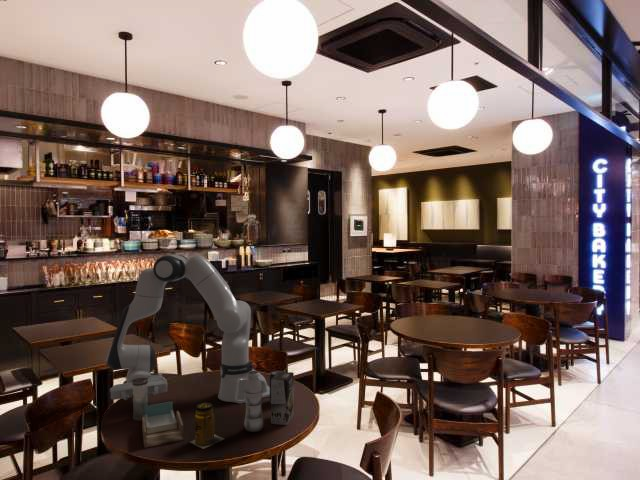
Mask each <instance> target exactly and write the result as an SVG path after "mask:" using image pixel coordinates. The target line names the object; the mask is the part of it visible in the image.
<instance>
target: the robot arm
mask: <svg viewBox="0 0 640 480" xmlns="http://www.w3.org/2000/svg"><path fill="white" fill-rule="evenodd" d="M185 278H186V279H188V280H189V281H190V282H191V283H192V285H193V286H194V287H195V289H196V290H197V291H198V292H199V294H200V295H201V296H202V298H203V299H204V301H205V302H206V304H207V305H208V307H209V310H211V313H212V315H213V316H214V319H215V320H216V324H217V327H218V328H219V330H221V331H222V332H223V335H222V340H221V362H220V367H219V369H220V371H219V372H220V377H221V378H220V385H219V391H218V395H217V398H218V399H219V400H220V401H223V402H228V403H235V404H244V403H245V404H246V400H245V393H244V386H245V384H246V382H247V381H248V380H249V379H248V372H250V371H256V368H257V364H256V363H255V362H253V361H252V360H250V358H249V351H250V348H249V344H250V343H249V342H250V333H251V331H250V330H251V320H252V319H251V318H252V310H251V309H252V308H251V306H250V304H248V302H246V301H244V300H237V299H236V298H235V296H234V294H233V293H232V291H231V288H230V286H229V284H228V283H227V281H226V280H225V279H224V278H223V276H222V275H221V273H220V272H219V271H218V270H217V268H216V267H215V266H214V265H213V264H212V263H211V262H210V261H209V260H208V259H207V258H206V257H204V256H203V255H201V254H196V255H193V256H190V257H189V258H187V257H186V256H185V255H182V254H167V255H166V254H165V255H162V256H160V257H158V258H157V259H156V260H155V261H154V264H153V266H152V267H149V268H146V269H143V270H142V271H141V272H140V274H139V276H138V280H137V283H136V287H135V291H134V292H135V293H134V297H133V300H132V301H131V303H130V304H128V305H127V306H125V307H124V309H123V310H122V312H121V316H120V318H119V322H118V324H117V327H116V330H115V334H114V337H113V339H112V343H111V345H110V346H109V349H108V351H107V354H106V355H105V358H106V359H105V361H106V363H105V364H106V365H107V367H109V369H111V370H113V371H117V370H119V371H120V370H127V374H126V379H125V380H126V382H125V383H117V384H114V385H112V387H110V388H109V392H110V399H111V400H112V401H114V400H121V399H122V400H124V401H127V400H129V398H133V384H132V381H133V380H134V379H136V378H147V379H148V383H147V392H148V396H149V395H151V396H152V397H156V396H157V394H161V393H166V392H168V389H169V388H168V386H169V385H168V381H167V378H165V377H164V376H163V375H162V373H160V372H159V373H158V372H152V371H154V369H155V366H156V351H155V349H154V348H153V346H152V345H150V344H124V341H125V338H126V335H127V333H128V329H129V327H130V325H131V324H132V323H134V322H136V321H139V320H142V319H146V318H148V317H151V316H153V315H155V314H156V313H158V312H159V311H160V310H161V308H162V304H163V300H164V295H165V292H164V291H165V287H166V285H167V283H169V282H170V283H171V282H177V281H180V280H182V279H185ZM258 379H259V381H260V382H261V384H262V386H263V392H262V399H263V398H264V399H265V398H267V397H270V385H268V383H267V380H266V377H264V375H262V374H261V373H260V372H259V378H258Z"/></svg>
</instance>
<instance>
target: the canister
mask: <svg viewBox="0 0 640 480" xmlns="http://www.w3.org/2000/svg"><path fill="white" fill-rule="evenodd" d="M147 383H148V379H147V378H136V379H134V380H133V381H132V384H133V397H132V420H134V421H142V417H144V418H145V406H146V405H149V403H148V399H149V398H148V396H149V395H148V392H147Z"/></svg>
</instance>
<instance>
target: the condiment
mask: <svg viewBox="0 0 640 480" xmlns="http://www.w3.org/2000/svg"><path fill="white" fill-rule="evenodd" d="M195 407H196V408H195V415H194V426H195V427H194V440H192V441H190V443H191V444H193V445H194V446H196V447H198V448H201V449H202V450H203V449H206V448H208V447H211V446H213V445H215V444H216V443H219V442H222V441H223V440H225V438H223V437H221V436H219V435H217V434H215V413H214V408H213V407H214V406H213V404H212V403H209V402H202V403H200V404H197V406H195Z"/></svg>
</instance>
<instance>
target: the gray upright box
mask: <svg viewBox="0 0 640 480" xmlns="http://www.w3.org/2000/svg"><path fill="white" fill-rule="evenodd" d="M277 372H286V370H280V369H277V370H272V371H271V373H270V375H269V387H270V396H269V401H270V402H271V379H272V378H273V377H274V376H275V375H276V373H277Z"/></svg>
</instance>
